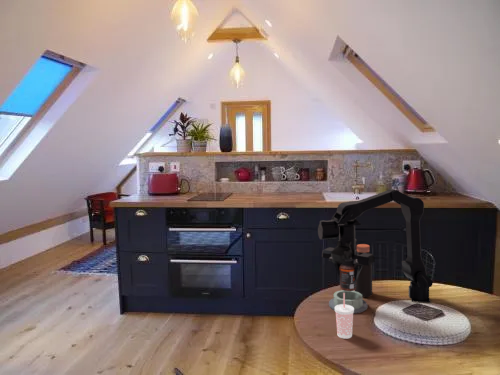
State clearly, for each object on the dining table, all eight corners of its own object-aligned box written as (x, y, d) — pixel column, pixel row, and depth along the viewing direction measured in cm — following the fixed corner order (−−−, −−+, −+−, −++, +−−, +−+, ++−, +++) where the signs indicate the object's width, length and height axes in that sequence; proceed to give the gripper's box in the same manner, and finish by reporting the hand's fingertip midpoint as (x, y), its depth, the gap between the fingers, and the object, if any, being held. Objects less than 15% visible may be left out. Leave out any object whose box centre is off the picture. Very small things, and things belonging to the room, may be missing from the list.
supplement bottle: (356, 292, 144) (356, 261, 142) (340, 291, 145) (339, 261, 144) (355, 286, 150) (355, 257, 148) (339, 285, 151) (339, 256, 149)
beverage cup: (331, 333, 128) (330, 291, 126) (346, 328, 130) (346, 287, 128) (342, 341, 122) (341, 298, 120) (358, 337, 124) (358, 294, 123)
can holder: (365, 298, 153) (365, 289, 153) (369, 314, 140) (369, 303, 139) (329, 297, 156) (328, 287, 156) (328, 312, 143) (328, 302, 142)
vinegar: (353, 291, 162) (353, 243, 160) (370, 291, 161) (370, 243, 159) (355, 297, 155) (355, 248, 153) (373, 297, 154) (373, 247, 152)
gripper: (313, 238, 145) (314, 279, 147) (360, 245, 133) (361, 290, 135) (329, 232, 153) (330, 271, 155) (375, 238, 141) (375, 280, 143)
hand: (348, 278), depth 147 cm, fingers closed on supplement bottle, 6 cm apart
